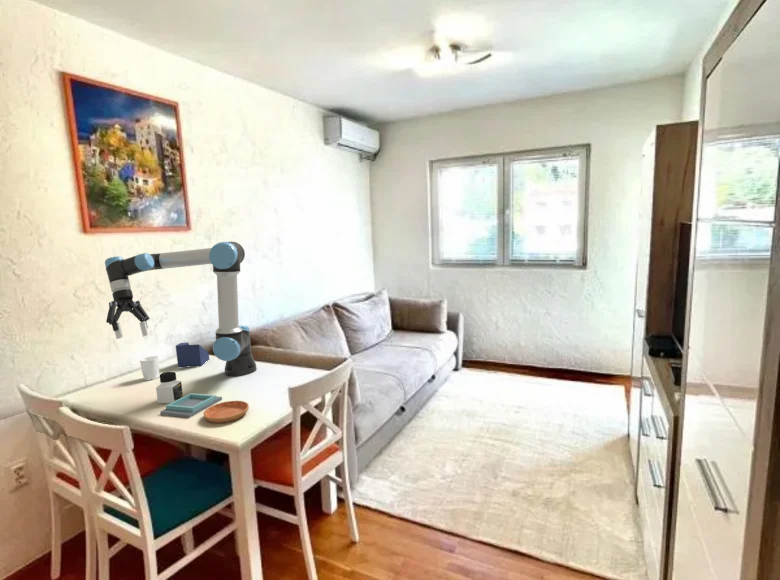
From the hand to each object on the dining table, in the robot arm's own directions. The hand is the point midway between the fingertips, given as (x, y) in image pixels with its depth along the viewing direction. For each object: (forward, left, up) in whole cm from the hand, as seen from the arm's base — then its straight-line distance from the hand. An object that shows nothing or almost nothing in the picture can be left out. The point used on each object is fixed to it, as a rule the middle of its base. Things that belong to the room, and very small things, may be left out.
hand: (133, 336), depth 190 cm
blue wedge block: (-17, -38, -26) cm, 49 cm away
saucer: (-39, +44, -26) cm, 64 cm away
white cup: (0, -20, -26) cm, 32 cm away
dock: (-25, +29, -25) cm, 46 cm away
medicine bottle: (-15, +17, -26) cm, 34 cm away
